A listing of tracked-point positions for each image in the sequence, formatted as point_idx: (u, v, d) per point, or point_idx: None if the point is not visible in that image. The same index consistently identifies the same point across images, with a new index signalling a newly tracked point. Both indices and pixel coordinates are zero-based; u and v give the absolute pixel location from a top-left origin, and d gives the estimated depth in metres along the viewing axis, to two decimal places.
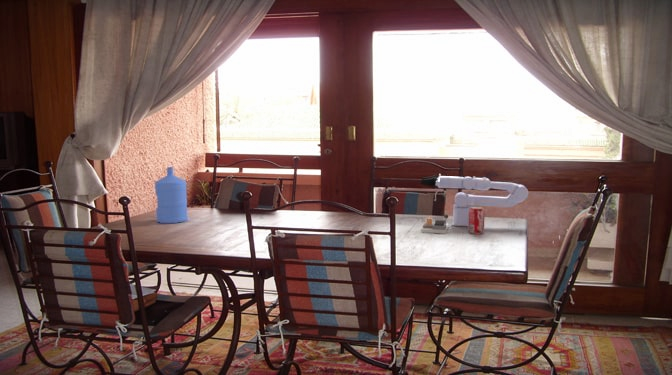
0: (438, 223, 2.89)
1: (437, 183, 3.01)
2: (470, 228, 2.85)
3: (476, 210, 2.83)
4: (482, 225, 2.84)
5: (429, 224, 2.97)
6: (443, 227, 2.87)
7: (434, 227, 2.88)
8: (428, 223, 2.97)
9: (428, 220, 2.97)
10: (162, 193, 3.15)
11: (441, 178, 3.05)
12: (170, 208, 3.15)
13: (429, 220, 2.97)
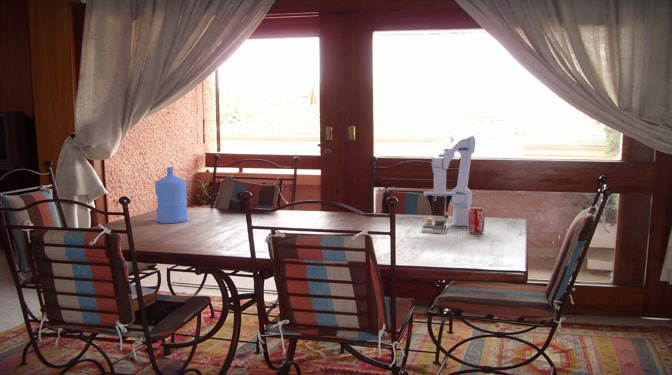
0: (438, 223, 2.89)
1: (455, 194, 2.87)
2: (470, 228, 2.85)
3: (476, 210, 2.83)
4: (482, 225, 2.84)
5: (429, 224, 2.97)
6: (443, 227, 2.87)
7: (434, 227, 2.88)
8: (428, 223, 2.97)
9: (428, 220, 2.97)
10: (162, 193, 3.15)
11: (443, 191, 2.86)
12: (170, 208, 3.15)
13: (429, 220, 2.97)
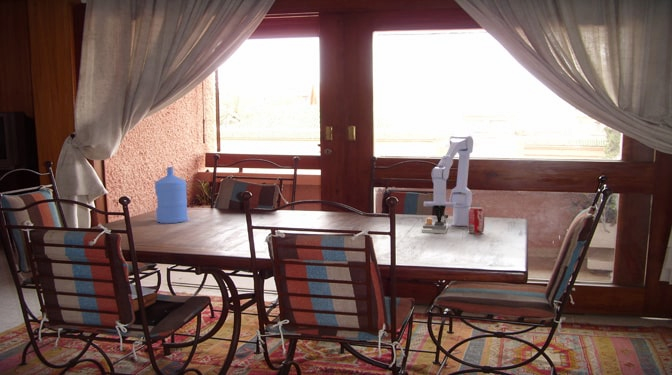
0: (438, 224, 2.89)
1: (455, 205, 2.88)
2: (470, 228, 2.85)
3: (476, 210, 2.83)
4: (482, 225, 2.84)
5: (429, 224, 2.97)
6: (443, 227, 2.87)
7: (434, 227, 2.88)
8: (428, 223, 2.97)
9: (428, 220, 2.97)
10: (162, 193, 3.15)
11: (443, 201, 2.87)
12: (170, 208, 3.15)
13: (429, 220, 2.97)
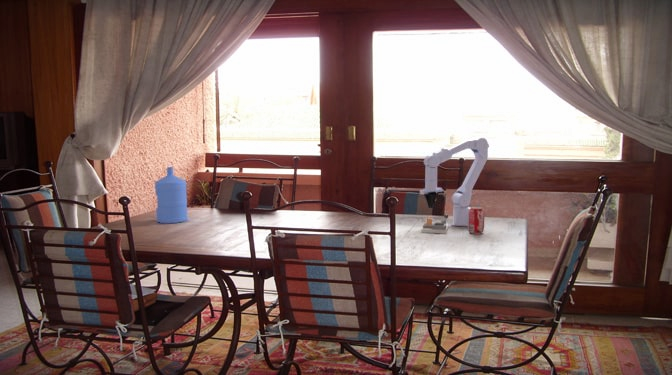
0: None
1: None
2: (470, 228, 2.85)
3: (476, 210, 2.83)
4: (482, 225, 2.84)
5: (429, 224, 2.97)
6: (443, 227, 2.87)
7: (434, 227, 2.88)
8: (428, 223, 2.97)
9: (428, 220, 2.97)
10: (162, 193, 3.15)
11: (436, 187, 3.03)
12: (170, 208, 3.15)
13: (429, 220, 2.97)
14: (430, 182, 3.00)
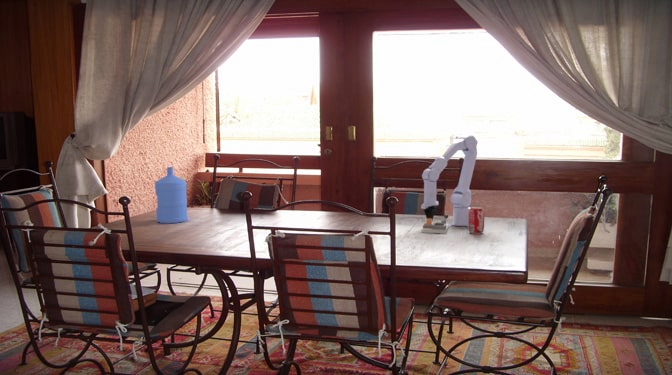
0: None
1: None
2: (470, 228, 2.85)
3: (476, 210, 2.83)
4: (482, 225, 2.84)
5: (429, 224, 2.96)
6: (443, 227, 2.87)
7: (434, 227, 2.88)
8: (428, 223, 2.96)
9: (428, 220, 2.96)
10: (162, 193, 3.15)
11: None
12: (170, 208, 3.15)
13: (429, 220, 2.96)
14: (430, 196, 2.96)
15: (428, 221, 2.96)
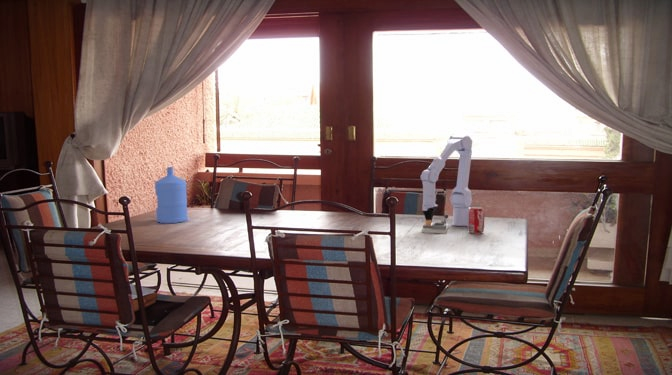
0: None
1: None
2: (470, 228, 2.85)
3: (476, 210, 2.83)
4: (482, 225, 2.84)
5: None
6: (443, 227, 2.87)
7: (434, 227, 2.88)
8: (427, 225, 2.92)
9: (427, 222, 2.92)
10: (162, 193, 3.15)
11: None
12: (170, 208, 3.15)
13: (428, 222, 2.92)
14: (430, 198, 2.92)
15: (427, 223, 2.92)
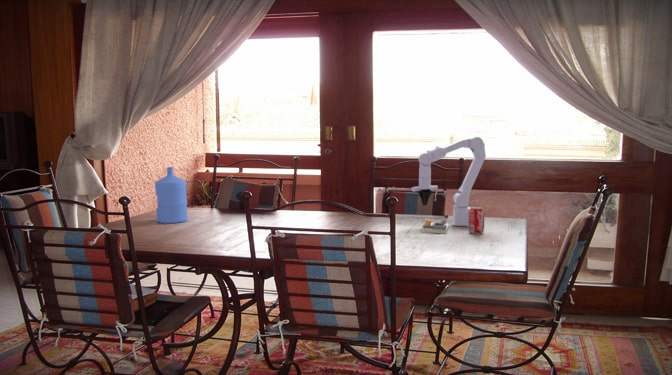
0: None
1: None
2: (470, 228, 2.85)
3: (476, 210, 2.83)
4: (482, 225, 2.84)
5: None
6: (443, 227, 2.87)
7: (434, 227, 2.88)
8: None
9: (427, 222, 2.92)
10: (162, 193, 3.15)
11: (430, 185, 3.05)
12: (170, 208, 3.15)
13: (428, 222, 2.92)
14: (422, 179, 3.03)
15: (427, 223, 2.92)
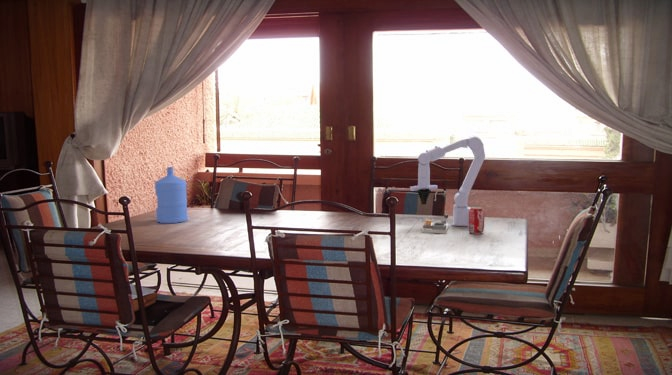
0: None
1: None
2: (470, 228, 2.85)
3: (476, 210, 2.83)
4: (482, 225, 2.84)
5: None
6: (443, 227, 2.87)
7: (434, 227, 2.88)
8: None
9: (427, 222, 2.92)
10: (162, 193, 3.15)
11: (429, 184, 3.07)
12: (170, 208, 3.15)
13: (428, 222, 2.92)
14: (421, 179, 3.05)
15: (427, 223, 2.92)
